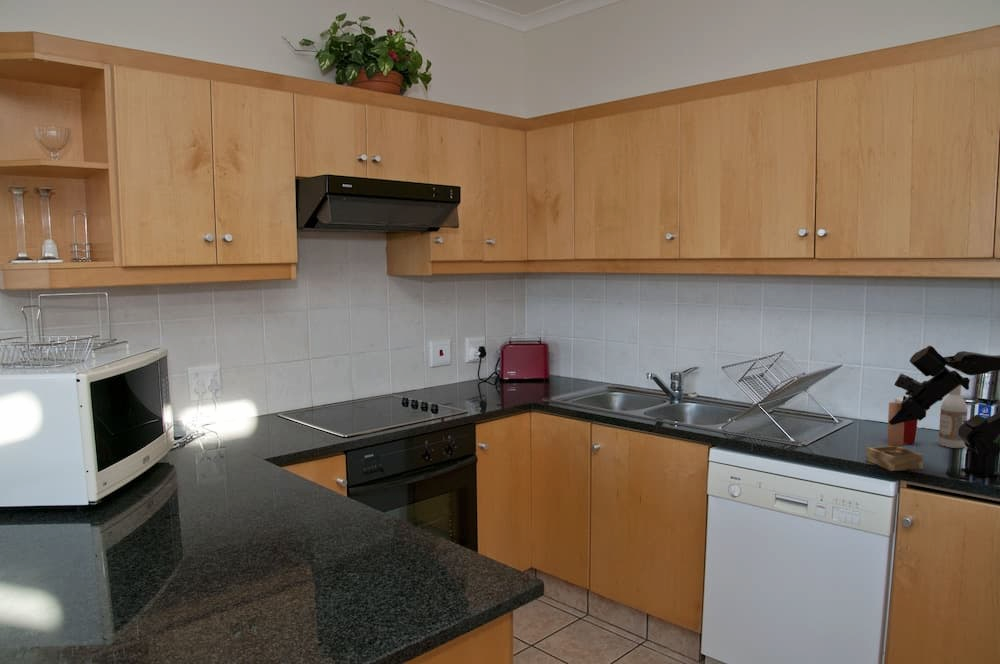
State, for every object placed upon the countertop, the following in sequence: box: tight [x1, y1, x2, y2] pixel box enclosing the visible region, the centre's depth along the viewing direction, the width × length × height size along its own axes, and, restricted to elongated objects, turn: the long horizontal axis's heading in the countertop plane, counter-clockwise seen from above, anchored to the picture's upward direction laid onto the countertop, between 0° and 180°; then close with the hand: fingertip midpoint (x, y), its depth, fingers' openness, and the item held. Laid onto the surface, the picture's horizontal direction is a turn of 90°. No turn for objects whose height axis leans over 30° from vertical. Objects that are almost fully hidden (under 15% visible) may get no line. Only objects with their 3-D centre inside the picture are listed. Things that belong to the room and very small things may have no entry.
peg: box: [886, 401, 904, 447], centre depth 201 cm, size 4×4×12 cm
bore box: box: [865, 445, 924, 472], centre depth 202 cm, size 10×10×4 cm
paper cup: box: [892, 396, 919, 445], centre depth 225 cm, size 8×8×14 cm
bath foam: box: [938, 385, 968, 449], centre depth 220 cm, size 7×7×20 cm
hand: (890, 421), depth 201 cm, fingers closed on peg, 4 cm apart
